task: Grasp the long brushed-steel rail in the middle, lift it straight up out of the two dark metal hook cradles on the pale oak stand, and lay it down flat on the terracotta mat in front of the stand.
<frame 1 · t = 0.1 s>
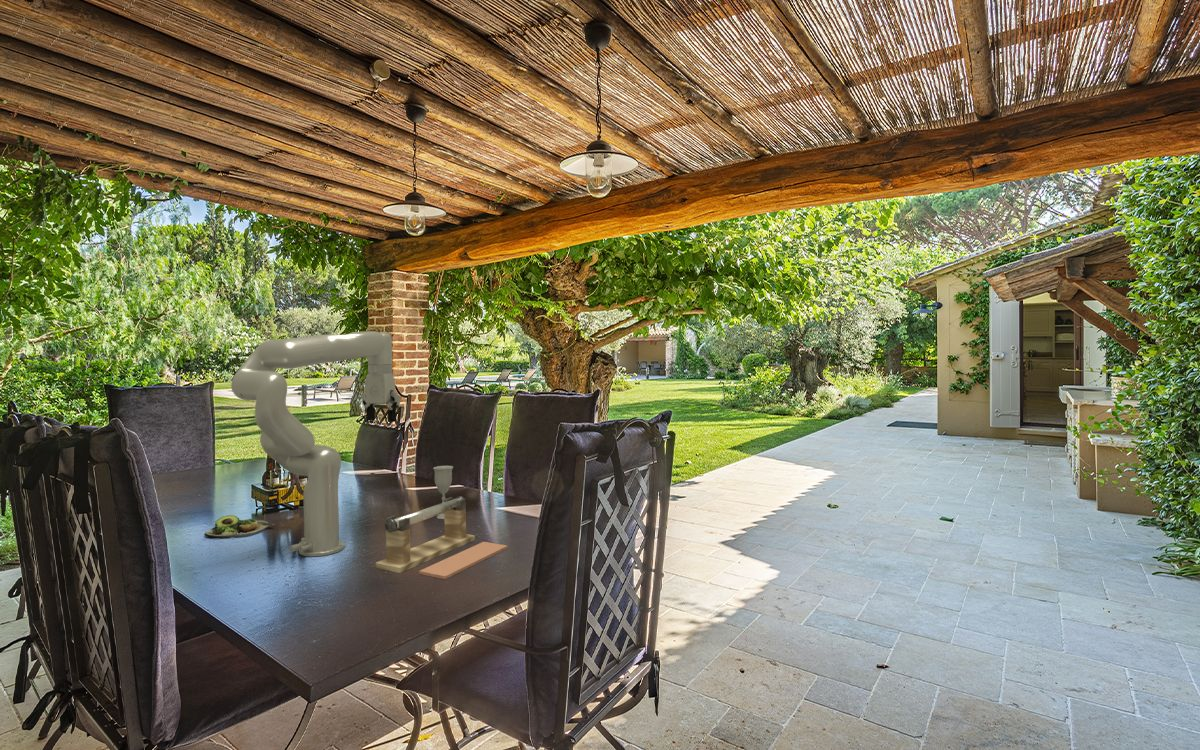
hand: (381, 420, 202), 37 cm above the table, tool pointing down, fingers open, 9 cm apart
rail stand: (428, 553, 179), on the table
salad plate: (236, 532, 202), on the table
terracotta mat: (466, 560, 173), on the table
chalice: (443, 517, 219), on the table
steel rail: (428, 513, 179), point 12 cm above the table, touching rail stand
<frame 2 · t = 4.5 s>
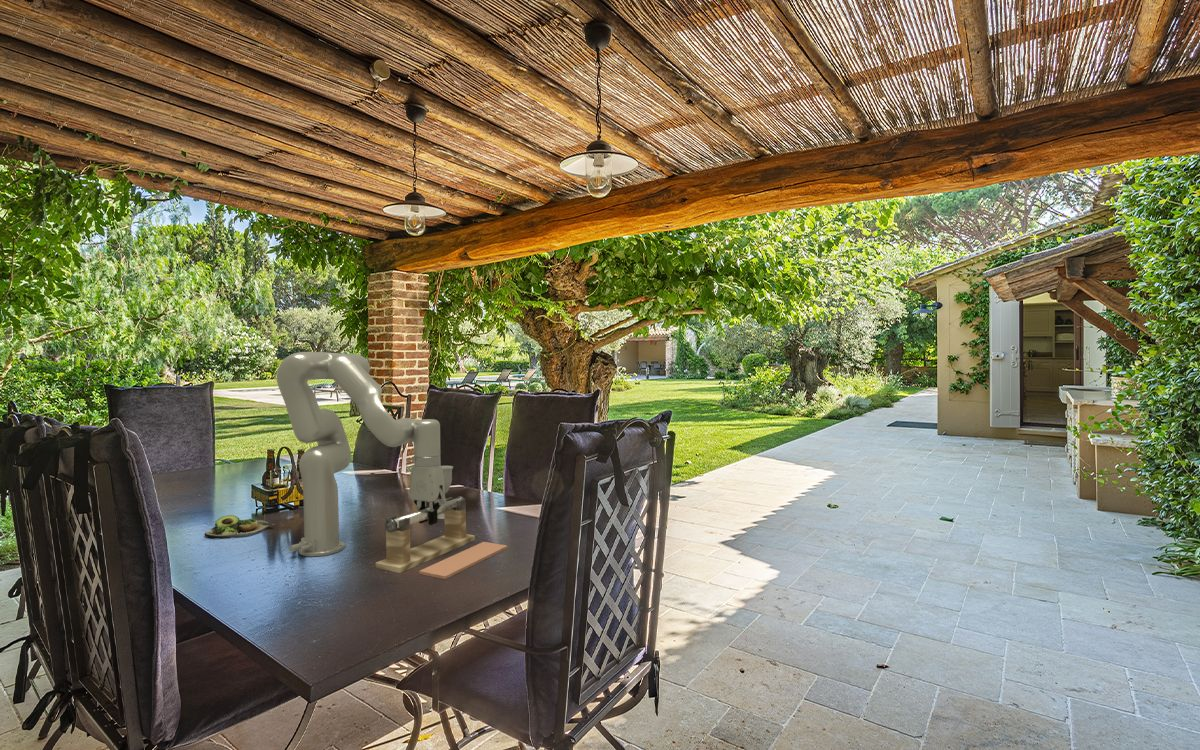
hand: (428, 522, 179), 9 cm above the table, tool pointing down, fingers closed on steel rail, 3 cm apart
steel rail: (428, 513, 179), point 12 cm above the table, touching gripper, rail stand
everything else where it was.
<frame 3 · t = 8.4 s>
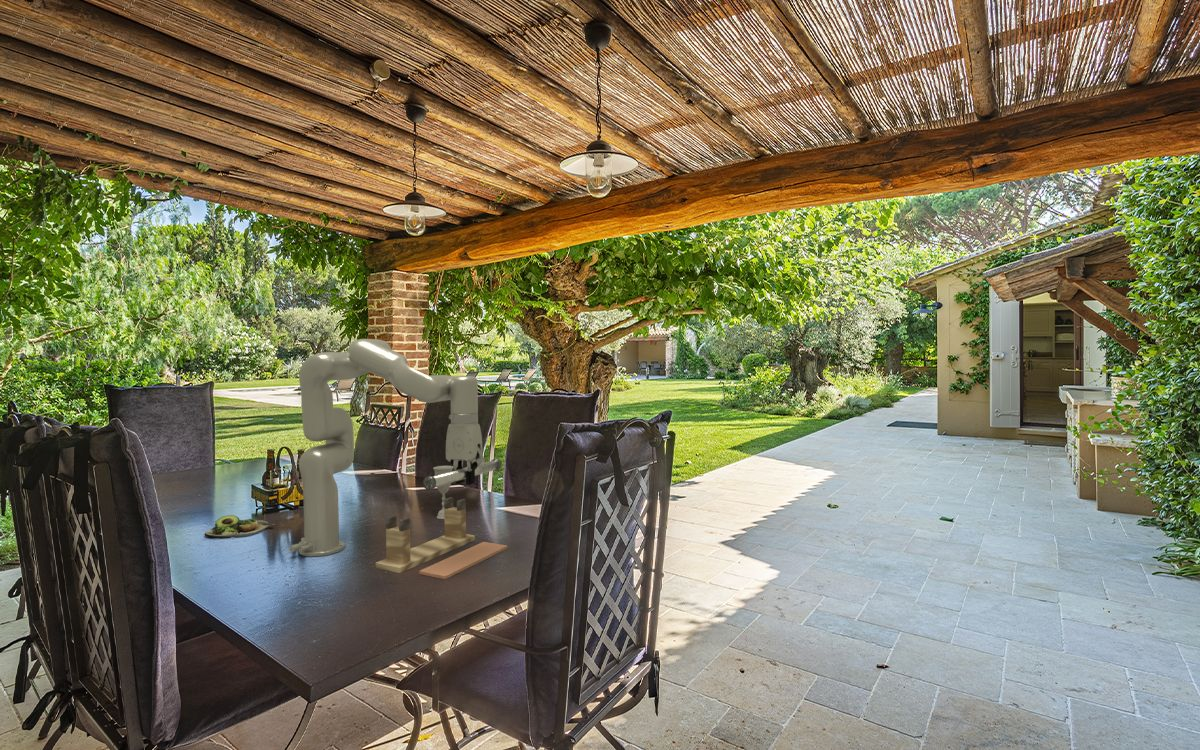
hand: (465, 483, 172), 22 cm above the table, tool pointing down, fingers closed on steel rail, 3 cm apart
steel rail: (465, 473, 172), point 25 cm above the table, touching gripper
everything else where it was.
when the fingers open (2 cm above the table, at t = 12.6 s): steel rail drops 2 cm, resting on terracotta mat.
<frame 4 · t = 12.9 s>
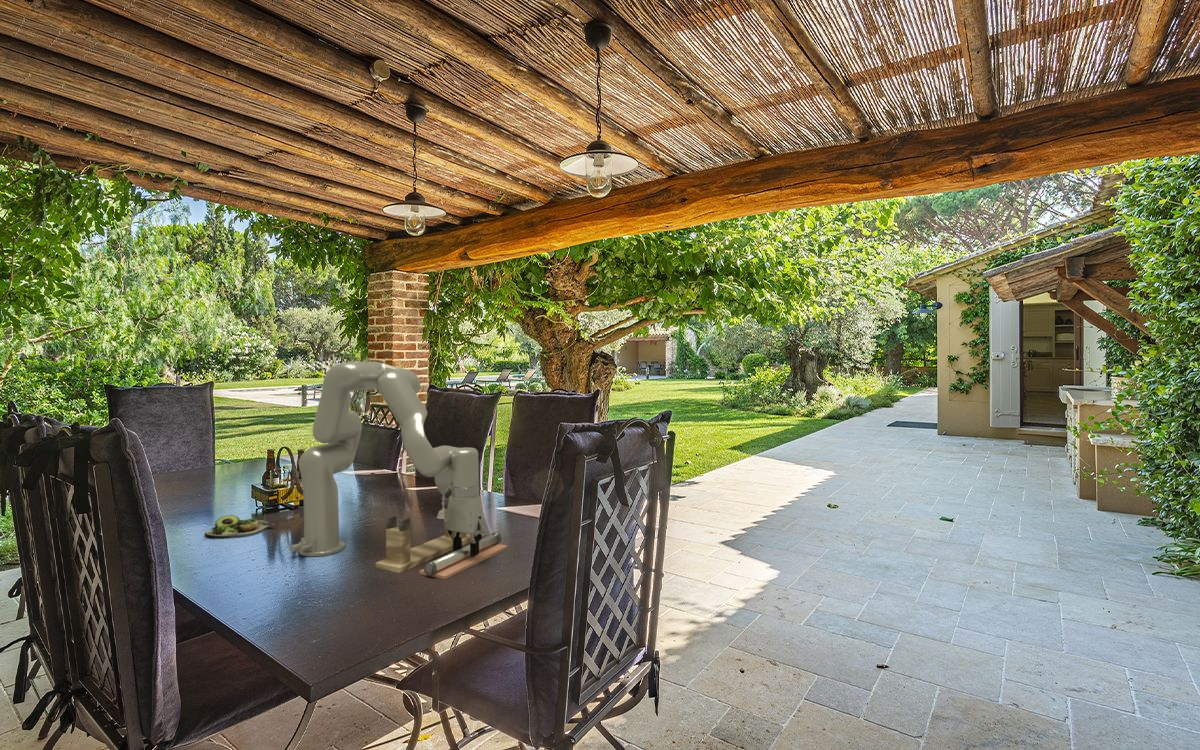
hand: (466, 553, 173), 2 cm above the table, tool pointing down, fingers open, 5 cm apart
steel rail: (465, 552, 173), point 2 cm above the table, touching terracotta mat
everything else where it was.
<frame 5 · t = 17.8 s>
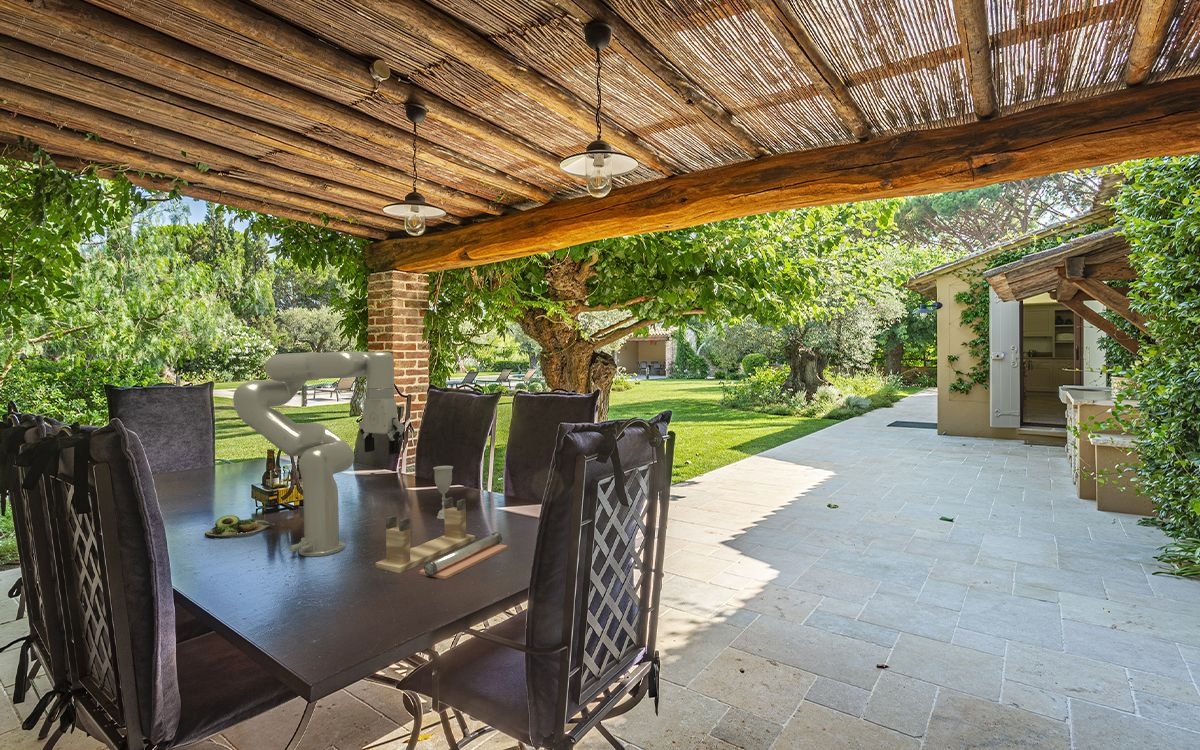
hand: (381, 452, 177), 30 cm above the table, tool pointing down, fingers open, 9 cm apart
nothing on the table moved.
at the end: steel rail inside the target area (0.1 cm from its centre), point 2.3 cm above the table; steel rail tilted 1°; the gripper is holding nothing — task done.
